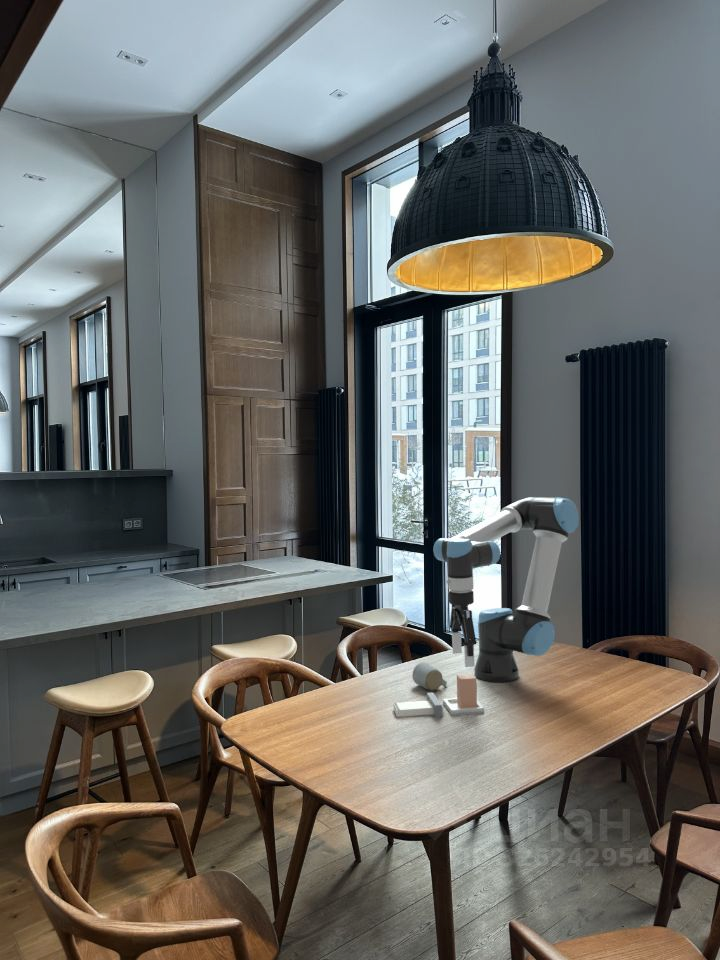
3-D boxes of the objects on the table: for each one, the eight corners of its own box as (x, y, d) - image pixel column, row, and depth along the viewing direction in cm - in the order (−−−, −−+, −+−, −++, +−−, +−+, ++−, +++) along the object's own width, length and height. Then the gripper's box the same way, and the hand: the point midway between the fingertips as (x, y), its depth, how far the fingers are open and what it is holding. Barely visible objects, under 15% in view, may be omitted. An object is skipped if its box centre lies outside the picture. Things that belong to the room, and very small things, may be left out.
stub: (473, 703, 211) (472, 674, 211) (477, 707, 207) (476, 678, 207) (457, 704, 210) (456, 675, 210) (460, 708, 206) (460, 679, 206)
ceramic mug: (426, 693, 222) (426, 670, 222) (412, 686, 229) (411, 663, 229) (452, 688, 228) (452, 665, 227) (437, 681, 235) (437, 659, 234)
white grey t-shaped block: (436, 703, 213) (436, 692, 213) (445, 716, 202) (445, 704, 202) (392, 706, 211) (391, 695, 211) (398, 720, 200) (398, 708, 200)
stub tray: (474, 701, 214) (474, 696, 214) (484, 712, 204) (484, 707, 204) (443, 703, 213) (443, 698, 213) (451, 715, 203) (451, 710, 203)
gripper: (438, 583, 219) (441, 648, 220) (460, 599, 194) (462, 673, 195) (461, 581, 220) (463, 647, 221) (485, 598, 195) (488, 671, 196)
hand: (463, 659), depth 208 cm, fingers open, 13 cm apart
